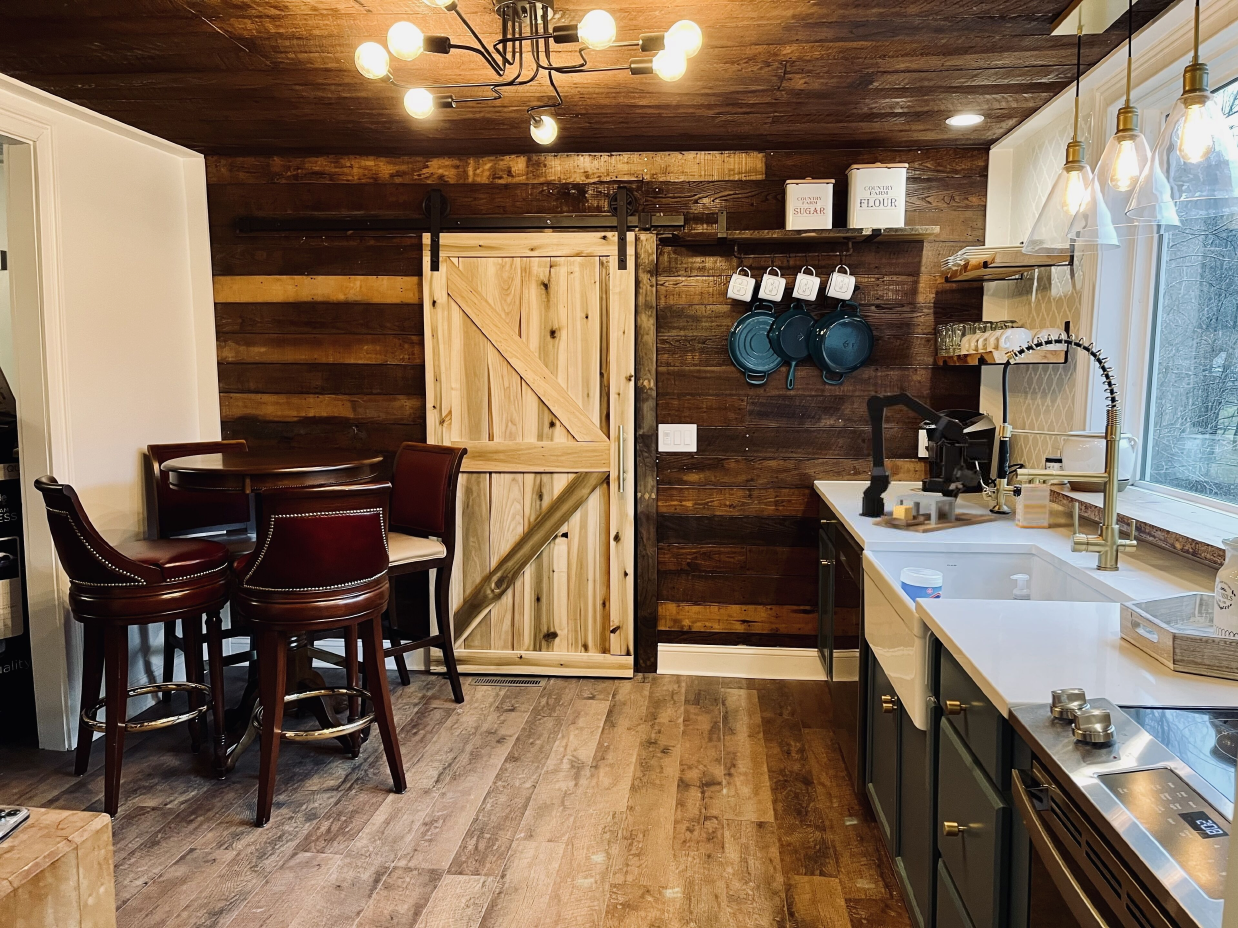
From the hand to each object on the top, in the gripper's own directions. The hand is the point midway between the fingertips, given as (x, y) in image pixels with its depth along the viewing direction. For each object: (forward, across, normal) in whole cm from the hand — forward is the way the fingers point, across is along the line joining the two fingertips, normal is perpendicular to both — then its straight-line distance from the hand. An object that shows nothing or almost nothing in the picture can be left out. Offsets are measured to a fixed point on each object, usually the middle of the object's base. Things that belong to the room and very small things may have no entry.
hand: (950, 509), depth 277 cm
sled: (+2, -16, 0) cm, 16 cm away
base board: (+4, -8, 0) cm, 9 cm away
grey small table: (+4, -14, 0) cm, 14 cm away
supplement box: (+4, +8, -22) cm, 24 cm away
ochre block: (+1, -24, 0) cm, 25 cm away
